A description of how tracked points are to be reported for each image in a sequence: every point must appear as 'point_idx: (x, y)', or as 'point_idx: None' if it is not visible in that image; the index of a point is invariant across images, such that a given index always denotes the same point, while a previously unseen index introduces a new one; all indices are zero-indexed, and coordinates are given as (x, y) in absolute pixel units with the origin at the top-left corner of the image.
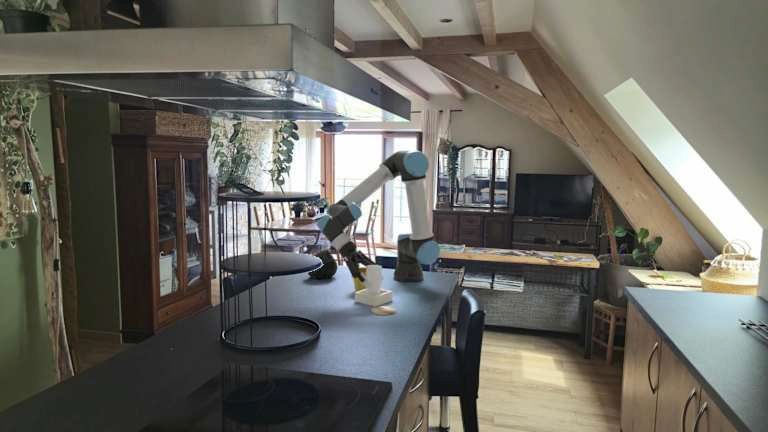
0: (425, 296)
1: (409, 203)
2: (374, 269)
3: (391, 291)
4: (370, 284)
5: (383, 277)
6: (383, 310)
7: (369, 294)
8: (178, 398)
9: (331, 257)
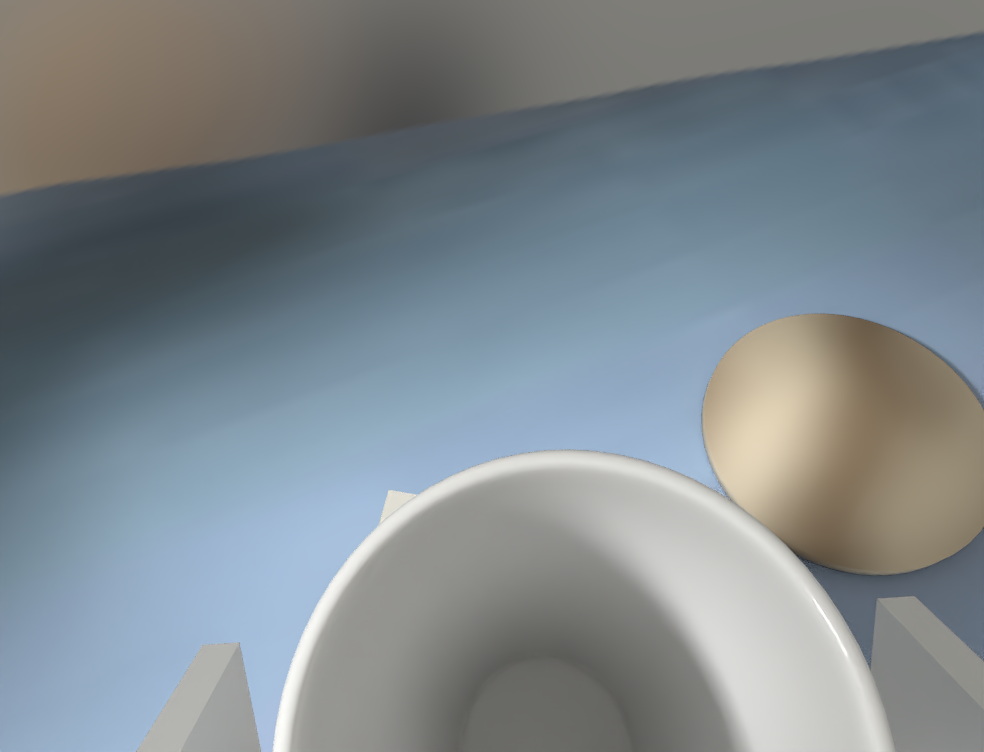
0: (138, 296)
1: None
2: (799, 583)
3: (407, 496)
4: (933, 620)
5: (230, 654)
6: (869, 421)
7: None
8: None
9: None
